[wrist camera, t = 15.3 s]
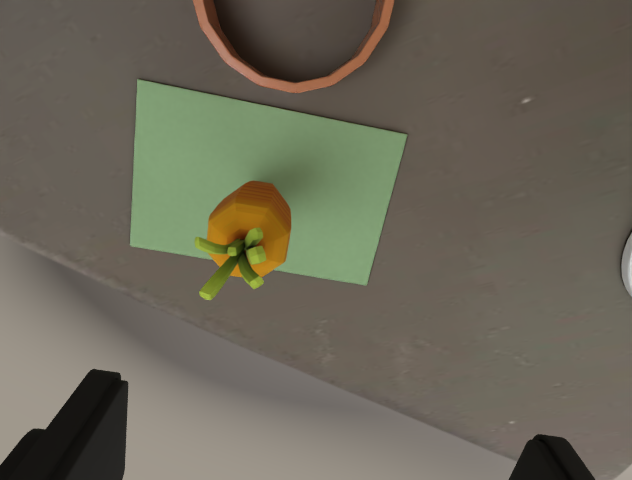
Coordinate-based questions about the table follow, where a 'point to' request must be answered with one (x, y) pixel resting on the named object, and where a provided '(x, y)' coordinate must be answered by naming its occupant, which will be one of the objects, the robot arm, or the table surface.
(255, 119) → the napkin
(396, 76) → the table surface
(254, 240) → the carrot
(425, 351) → the table surface
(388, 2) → the pan
